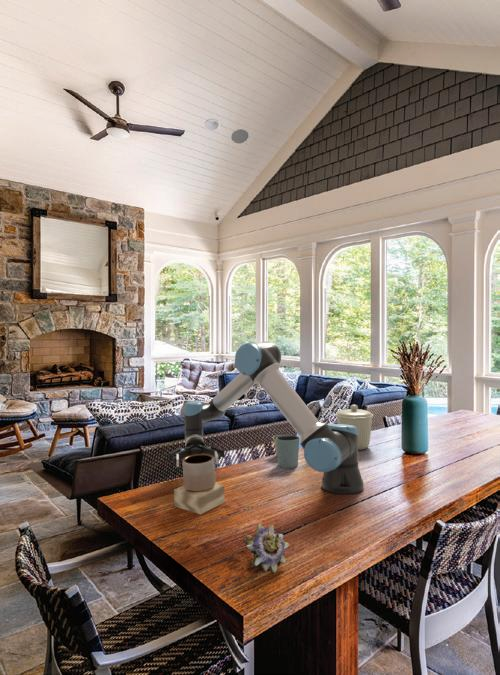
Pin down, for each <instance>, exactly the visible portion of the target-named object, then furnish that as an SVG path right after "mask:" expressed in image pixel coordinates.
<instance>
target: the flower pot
mask: <svg viewBox="0 0 500 675" xmlns="http://www.w3.org/2000/svg"><path fill="white" fill-rule="evenodd" d="M282 435H283V434H277V435H273V436H272V440H273V442H274V448H275V449H274V450H275V455H276V456H277V457H278V453H277V452H278V451H277V443H276V437H278V436H282Z"/></svg>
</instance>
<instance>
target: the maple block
mask: <svg viewBox="0 0 500 675" xmlns="http://www.w3.org/2000/svg"><path fill="white" fill-rule="evenodd" d="M173 500H174V502H173V503H174V507H175V508H179V509H182V510H184V511H188V512H191V513H195V514H199V515H202V514H205V513H206V512H208V511H211V510H212V509H214V508H216V507H218V506H220V505H222V504H224V503H225V485H223V484H218V483H216V484H215V486H214V487H212V488H211V489H209V490H206V491H200V492H193V491H189V490H187V489H185V488H184V485H182V486H178V487H177V488H175V489H173Z"/></svg>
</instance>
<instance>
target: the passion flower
mask: <svg viewBox="0 0 500 675" xmlns="http://www.w3.org/2000/svg"><path fill="white" fill-rule="evenodd" d="M274 529H275V527H274V525H273V524H272V525H270V526H269V527H268V528H267V527H264V526H262V524H261V523H257V526H256V532H255V534H253V535H246V536H245V538H244V539H243V540H242V542H243V543H244V545H246V546H245V549H247V550H249V551H250V552H251V554H252V556H253V559H252V561H251V564H252V566H253V567H257V566H259V565H260V566H261V569H262V570H263V572H264V573H267V571H268V570H270V571H271V572H272V573H273V574H275V573H276V572H277V570H278V563H279V562H280V563H282V564H286V562H287V561H286V557H285V556H286V554H285V553H286V549H288V547H289V546H290V544H289V542H286V541H285V540H284V539H283V538H284V534H282V533H277V532H276V530H274ZM252 537H253V538H252ZM251 539H252V540H251Z"/></svg>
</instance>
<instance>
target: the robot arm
mask: <svg viewBox="0 0 500 675" xmlns="http://www.w3.org/2000/svg"><path fill="white" fill-rule="evenodd" d="M281 361H282V353H281V350H280V348H279V347H278V346H277V345H276V344H275V343H273V342H270V341H258V342H253V341H251V342H248V343H244V344H242V345H240V346H239V348H237V350H236V352H235V355H234V365H235V368H236V370H237V371H238V372H239V373H238V374H237V375H236V376H235V377H233V379H232V380H231V381H230V382H229V383H228V384H227V385H225V387H224V388H222V389H221V390H220V391H219V392H218V393H217V394H216V395H215V396H214V397H213V398H212V399H211V400H210V401H208V402H207V403H203V402H201V401H196V400H195V401H187V402H185V403H184V411H183V414H184V416H183V417H184V443H185V444H184V445H185V447H184V448H182V447H180V446H178V447H176V449H174V450H172V451H170V452H169V453H167V454H168V455H167V457H168V458H167V459H168V462H173V464H176V468H179V467H180V460H183V459H184V458H185V457H187V456H190V455H194V454H209V455H212V456H214V462H215V464H216V465H219V464H220V463H219V460H221V459H222V458H225V454H226V453H225V450H224V449H222V448H220V447H217V446H215V445H214V444H210V446H209V447H208V446H206V444H205V441H204V424H205V423H207V422H210V421H214V420H218V419H220V418H222V417H224V415H225V414H226V411H227V410H228V409H229V408H230V407H231V406H232V405H233V404H235V402H237V401H238V400H239V399H240V398H241V397H242V396H243V395H244V394H245V393H246V392H248V391H249V390H251V388H252V387H253V386H255V385H260V387H261V388H262V389H263V390H264V392H266V394H267V395H268V397H269V398H270V399H271V400H272V402H273V403H274V404H275V406H276V407H277V408H278V410H279V411H280V413H282V416H284V418H285V419H286V420H287V421H288V423H289V424H290V426H291V427H292V428H293V429H294V431H295V432H296V433H297V435H298V437H299V438H300V440H299V446H301V447H302V449H303V454H304V455H303V456H304V457H303V458H304V460H305V463H306V464H307V465H308V466H309V467H310V468H311V469H312V470H314V471H316V472H320V473H323V475H322V478H321V488H322V490H324V491H327V492H330V493H333V494H336V495H337V494H339V495H351V494H352V495H353V494H358V493H361V492H362V491H363V490H364V488H365V487H364V480H363V478H362V474H361V471H360V468H359V450H358V434H357V428H356V427H355V426H352V425H345V424H338V423H325V422H321V421H319V419H318V418H317V417H316V416H315V414H314V413H313V412H312V411H311V410H310V408H309V407H308V406H307V405H306V403H305V402H304V399H302V398H301V397H300V395H299V394H298V393H297V391H296V390H295V389H294V388H293V387H292V385H291V384H290V383H289V382H288V380H287V379H286V378H285V377H284V374H282V372H281V371H280V363H281Z"/></svg>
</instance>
